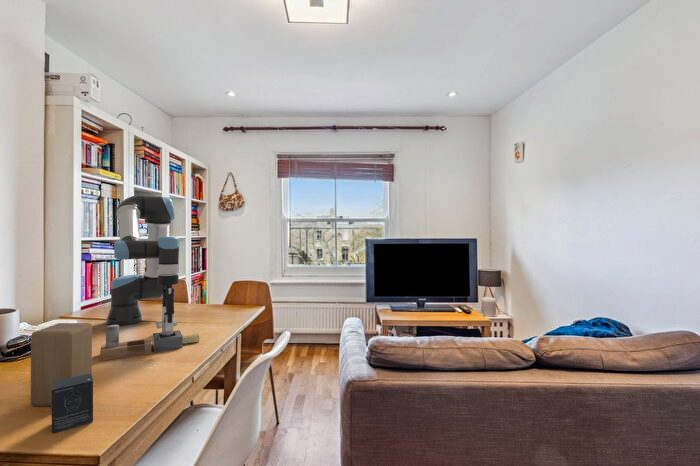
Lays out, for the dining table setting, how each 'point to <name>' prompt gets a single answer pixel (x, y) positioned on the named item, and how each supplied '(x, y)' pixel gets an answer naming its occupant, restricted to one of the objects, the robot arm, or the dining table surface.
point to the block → (58, 357)
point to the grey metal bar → (164, 333)
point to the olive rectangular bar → (190, 338)
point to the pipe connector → (159, 323)
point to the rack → (122, 345)
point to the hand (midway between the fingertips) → (167, 326)
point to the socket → (167, 341)
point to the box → (72, 402)
